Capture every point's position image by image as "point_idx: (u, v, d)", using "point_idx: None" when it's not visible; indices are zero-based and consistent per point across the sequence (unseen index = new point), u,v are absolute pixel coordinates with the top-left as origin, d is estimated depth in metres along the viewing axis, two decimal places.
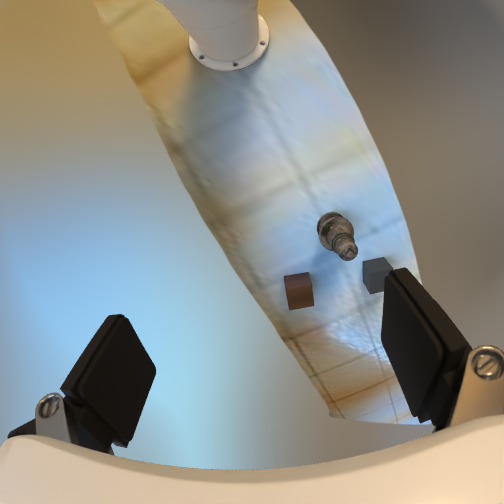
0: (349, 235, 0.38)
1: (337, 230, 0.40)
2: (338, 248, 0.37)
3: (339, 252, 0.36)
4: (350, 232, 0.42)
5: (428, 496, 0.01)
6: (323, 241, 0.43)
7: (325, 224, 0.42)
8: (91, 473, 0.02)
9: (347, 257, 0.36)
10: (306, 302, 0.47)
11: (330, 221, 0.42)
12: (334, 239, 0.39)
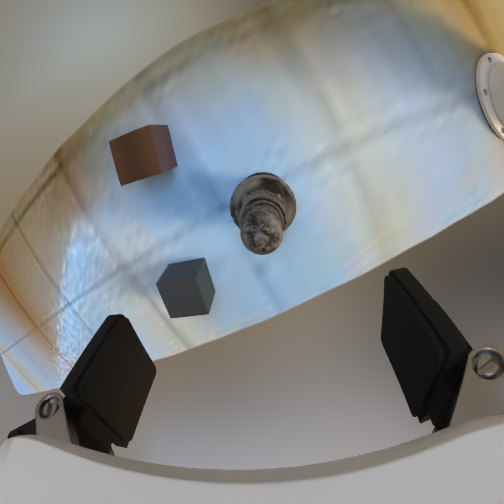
0: None
1: None
2: (266, 212, 0.18)
3: (260, 215, 0.17)
4: None
5: (428, 496, 0.01)
6: (249, 183, 0.23)
7: (282, 184, 0.23)
8: (91, 473, 0.02)
9: (253, 234, 0.17)
10: (126, 169, 0.22)
11: (288, 193, 0.23)
12: (271, 202, 0.20)
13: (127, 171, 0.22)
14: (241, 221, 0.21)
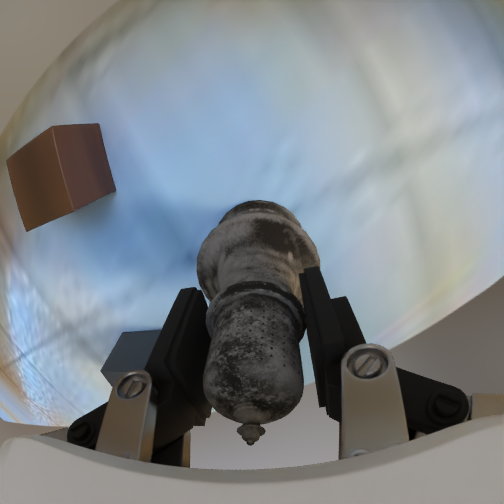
0: None
1: (290, 284, 0.11)
2: (264, 344, 0.07)
3: (249, 361, 0.06)
4: None
5: (428, 496, 0.01)
6: (231, 231, 0.12)
7: (296, 233, 0.12)
8: (91, 473, 0.02)
9: (230, 405, 0.06)
10: (28, 206, 0.11)
11: (307, 248, 0.12)
12: (277, 293, 0.09)
13: (30, 209, 0.11)
14: (211, 327, 0.09)
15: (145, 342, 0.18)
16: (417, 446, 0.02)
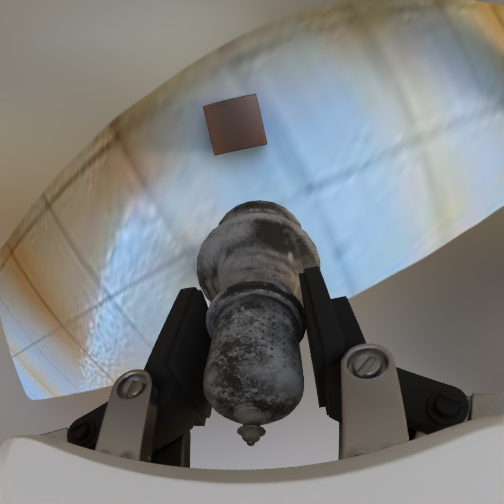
0: None
1: (291, 284, 0.11)
2: (264, 345, 0.07)
3: (249, 362, 0.06)
4: None
5: (428, 496, 0.01)
6: (231, 231, 0.12)
7: (296, 233, 0.12)
8: (91, 473, 0.02)
9: (231, 406, 0.06)
10: (223, 138, 0.21)
11: (307, 248, 0.12)
12: (277, 293, 0.09)
13: (224, 140, 0.21)
14: (211, 327, 0.09)
15: None
16: (417, 446, 0.02)
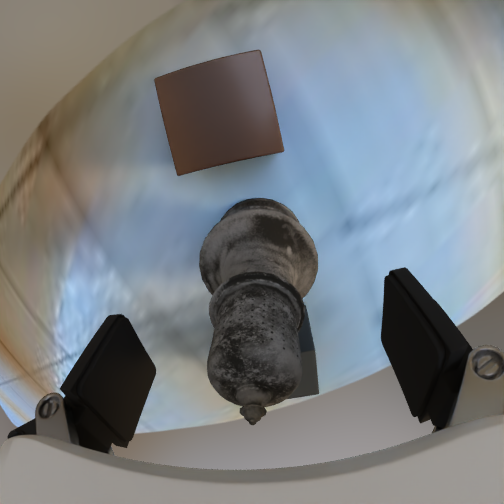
0: None
1: (290, 277, 0.11)
2: (265, 329, 0.07)
3: (251, 344, 0.07)
4: None
5: (428, 496, 0.01)
6: (232, 226, 0.12)
7: (295, 228, 0.12)
8: (91, 473, 0.02)
9: (233, 387, 0.07)
10: (193, 139, 0.10)
11: (305, 243, 0.13)
12: (277, 283, 0.09)
13: (196, 143, 0.10)
14: (214, 317, 0.10)
15: None
16: (417, 446, 0.02)
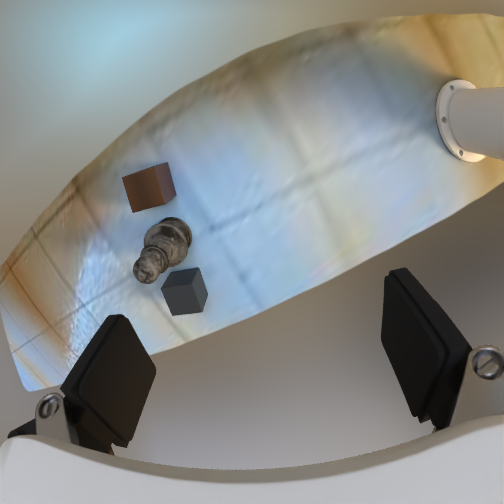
0: (166, 266, 0.30)
1: (169, 248, 0.31)
2: (146, 257, 0.27)
3: (141, 260, 0.26)
4: (170, 263, 0.34)
5: (428, 496, 0.01)
6: (153, 230, 0.32)
7: (175, 230, 0.32)
8: (91, 473, 0.02)
9: (137, 272, 0.26)
10: (136, 200, 0.30)
11: (180, 236, 0.32)
12: (157, 248, 0.29)
13: (137, 202, 0.30)
14: None
15: (185, 274, 0.37)
16: (417, 446, 0.02)
